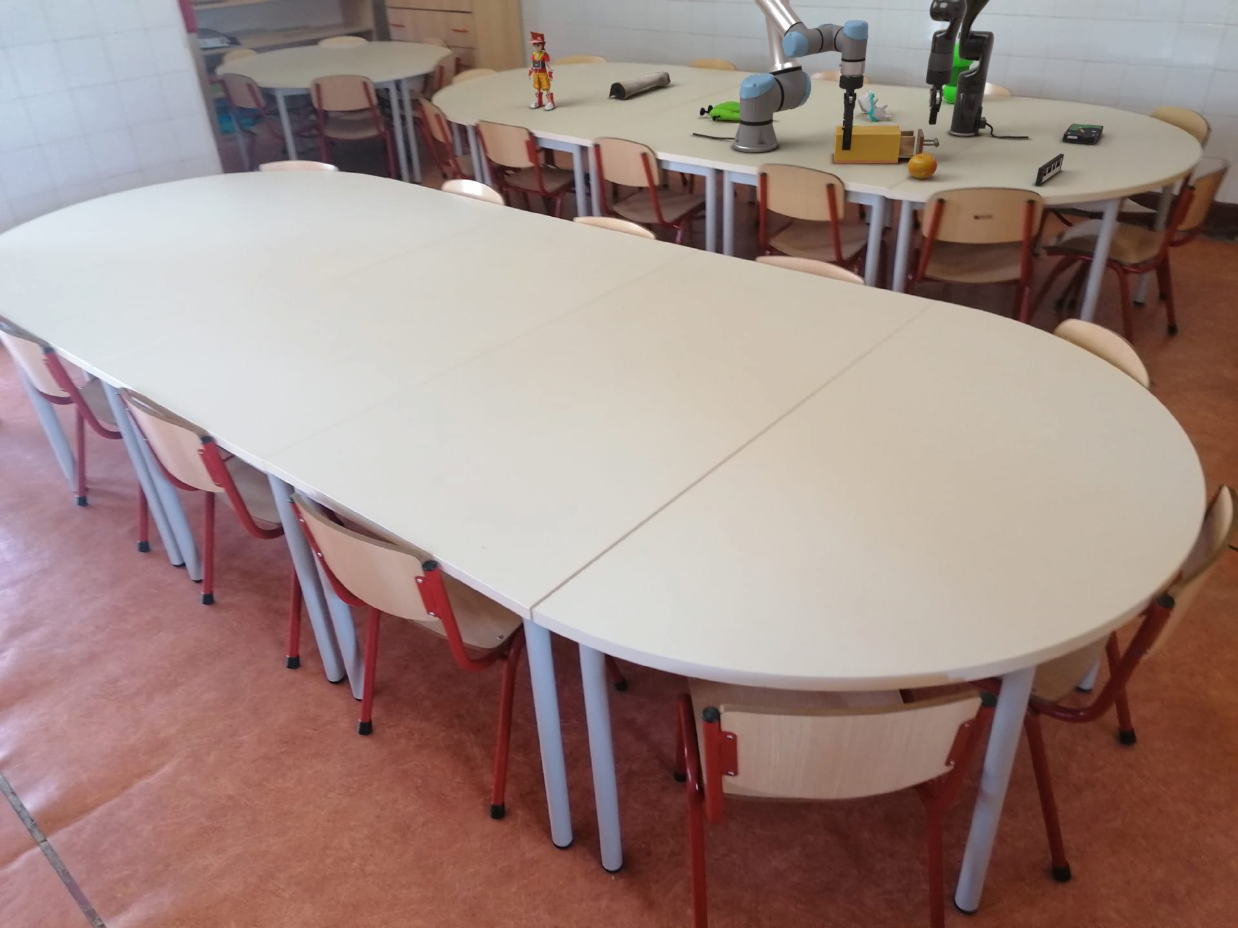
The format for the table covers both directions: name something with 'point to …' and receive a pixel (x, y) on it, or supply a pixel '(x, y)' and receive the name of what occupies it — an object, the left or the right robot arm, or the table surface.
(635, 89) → the rolled mat
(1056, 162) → the midi keyboard
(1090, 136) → the disk drive
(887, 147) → the cabinet
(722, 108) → the toy
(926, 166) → the fruit
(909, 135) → the drawer
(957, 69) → the plastic bottle
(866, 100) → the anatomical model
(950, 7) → the right robot arm
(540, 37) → the toy
